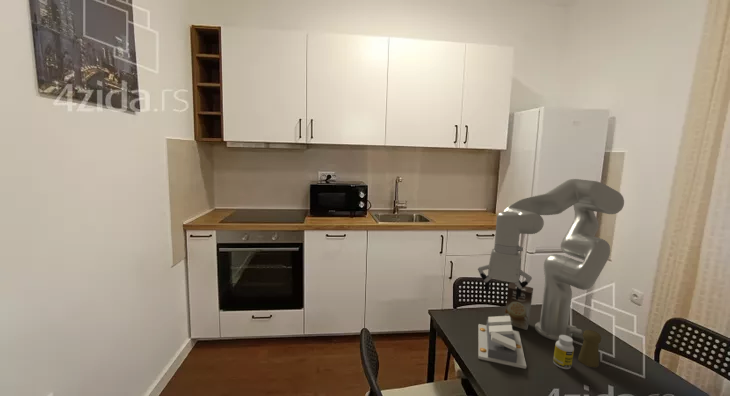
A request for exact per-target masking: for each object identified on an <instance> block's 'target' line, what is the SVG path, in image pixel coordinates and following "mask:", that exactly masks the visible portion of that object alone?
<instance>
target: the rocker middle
mask: <svg viewBox="0 0 730 396" xmlns="http://www.w3.org/2000/svg"><path fill="white" fill-rule="evenodd" d="M512 329H513V326H512V325H496V326H489V334H490V335H491V332H492V331H494V332H496V333H498V334H501V335H505V334H513V330H514V329H513V330H512Z"/></svg>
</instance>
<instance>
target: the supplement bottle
mask: <svg viewBox="0 0 730 396" xmlns="http://www.w3.org/2000/svg"><path fill="white" fill-rule="evenodd" d="M573 342H574V339H573V338H572V336H571V337H569V336H566V335H560V336H559V341H555V346H554V352H553V359H552V362H553V364H554V365H555V366H557V367H559V368H560V369H564V370H569V369H571V368H572V365H573V359H574V352H575V347H574V345H573Z"/></svg>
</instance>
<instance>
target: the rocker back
mask: <svg viewBox="0 0 730 396" xmlns="http://www.w3.org/2000/svg"><path fill="white" fill-rule="evenodd" d="M487 319H488V322H489V325H507V324H511V319H510V316H505V315H498V316H496V315H495V316H487Z"/></svg>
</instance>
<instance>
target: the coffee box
mask: <svg viewBox="0 0 730 396" xmlns="http://www.w3.org/2000/svg"><path fill="white" fill-rule="evenodd" d="M516 290H517V285H516V284H515V283H513V282H509V284H508V287H507V295H506V300H505V301H506V303H505V312H504V316H510V319H511V324H512V327H515V328H518V329H522V330H526V331H528V328H529V324H530V317H531V309H532V301H533V293H534V287H531V286H528V285H526V286H525V287H523V288H522V289H521V297H518V300H516Z"/></svg>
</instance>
